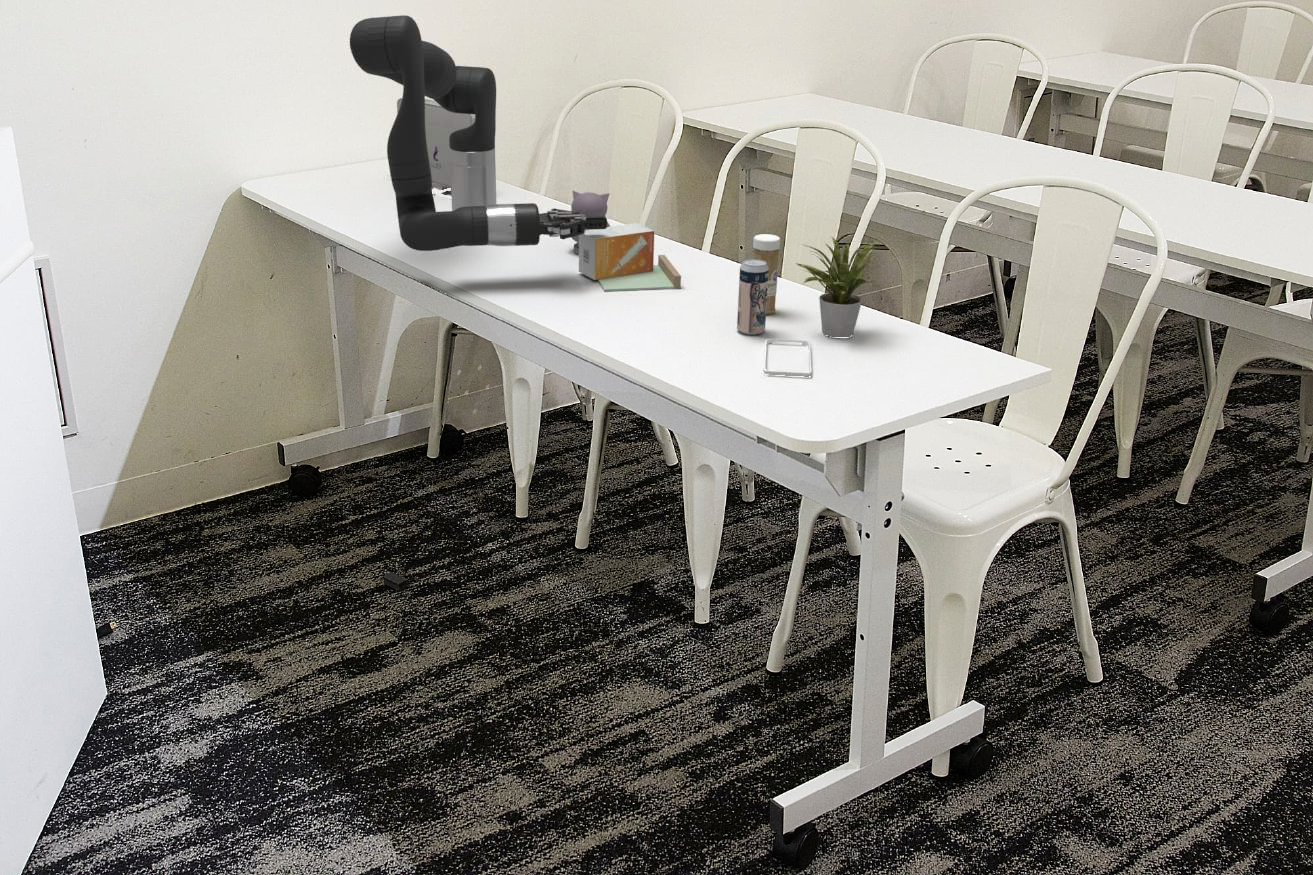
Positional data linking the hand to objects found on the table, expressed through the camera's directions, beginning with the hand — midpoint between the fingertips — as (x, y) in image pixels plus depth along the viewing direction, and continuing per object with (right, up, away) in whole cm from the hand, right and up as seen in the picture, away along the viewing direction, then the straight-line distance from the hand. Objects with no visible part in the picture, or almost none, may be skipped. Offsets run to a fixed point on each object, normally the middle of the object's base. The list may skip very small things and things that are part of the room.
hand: (606, 222), depth 241 cm
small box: (-4, -6, +3) cm, 8 cm away
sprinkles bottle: (+28, -18, -10) cm, 34 cm away
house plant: (+40, -22, -19) cm, 49 cm away
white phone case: (+30, -28, -32) cm, 52 cm away
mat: (+5, -10, +5) cm, 12 cm away
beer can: (+25, -22, -20) cm, 39 cm away
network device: (-40, +18, +66) cm, 79 cm away
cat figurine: (-4, -3, +21) cm, 22 cm away
